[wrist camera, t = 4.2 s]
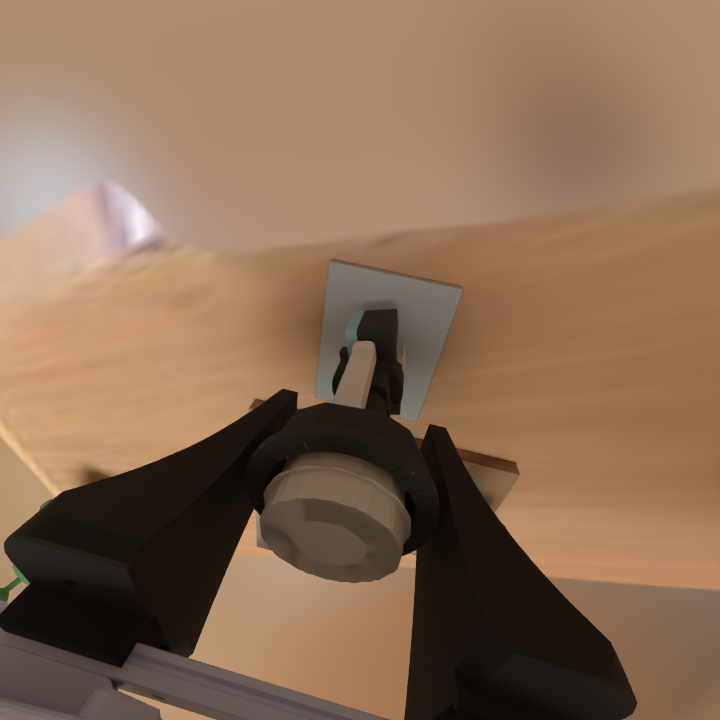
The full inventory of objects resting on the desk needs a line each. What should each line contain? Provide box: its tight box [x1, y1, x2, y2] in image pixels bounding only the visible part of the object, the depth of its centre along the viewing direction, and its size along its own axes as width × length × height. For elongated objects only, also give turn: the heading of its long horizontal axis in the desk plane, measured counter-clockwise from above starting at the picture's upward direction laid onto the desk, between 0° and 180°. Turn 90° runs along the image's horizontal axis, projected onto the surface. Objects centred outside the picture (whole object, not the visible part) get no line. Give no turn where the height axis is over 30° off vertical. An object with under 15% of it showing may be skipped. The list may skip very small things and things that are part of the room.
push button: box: [244, 309, 440, 583], centre depth 12 cm, size 7×5×10 cm
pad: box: [315, 259, 463, 422], centre depth 18 cm, size 7×9×1 cm
